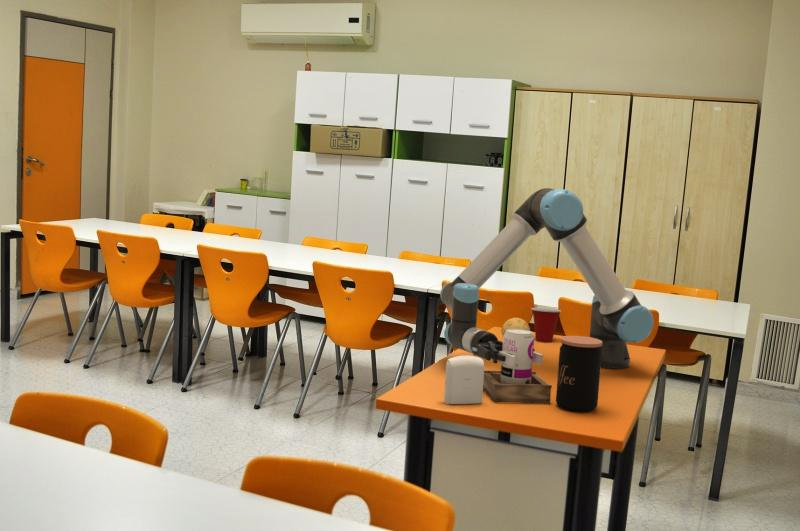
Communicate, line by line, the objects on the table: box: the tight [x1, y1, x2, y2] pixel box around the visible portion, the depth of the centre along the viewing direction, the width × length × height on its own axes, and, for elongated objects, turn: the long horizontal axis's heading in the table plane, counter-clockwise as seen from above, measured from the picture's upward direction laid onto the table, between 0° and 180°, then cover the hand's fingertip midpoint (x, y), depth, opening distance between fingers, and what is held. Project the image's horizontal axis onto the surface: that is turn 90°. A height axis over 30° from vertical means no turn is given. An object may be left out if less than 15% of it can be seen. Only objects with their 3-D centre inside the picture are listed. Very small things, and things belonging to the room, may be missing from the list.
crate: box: [483, 370, 553, 405], centre depth 233 cm, size 15×15×5 cm
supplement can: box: [500, 329, 535, 384], centre depth 233 cm, size 8×8×15 cm
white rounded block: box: [443, 355, 485, 405], centre depth 223 cm, size 10×4×12 cm, turn 105°
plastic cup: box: [530, 307, 562, 343], centre depth 313 cm, size 11×11×12 cm
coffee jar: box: [555, 335, 603, 414], centre depth 224 cm, size 11×11×18 cm
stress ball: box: [501, 317, 531, 337], centre depth 301 cm, size 10×10×10 cm
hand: (527, 360), depth 228 cm, fingers closed on supplement can, 8 cm apart
